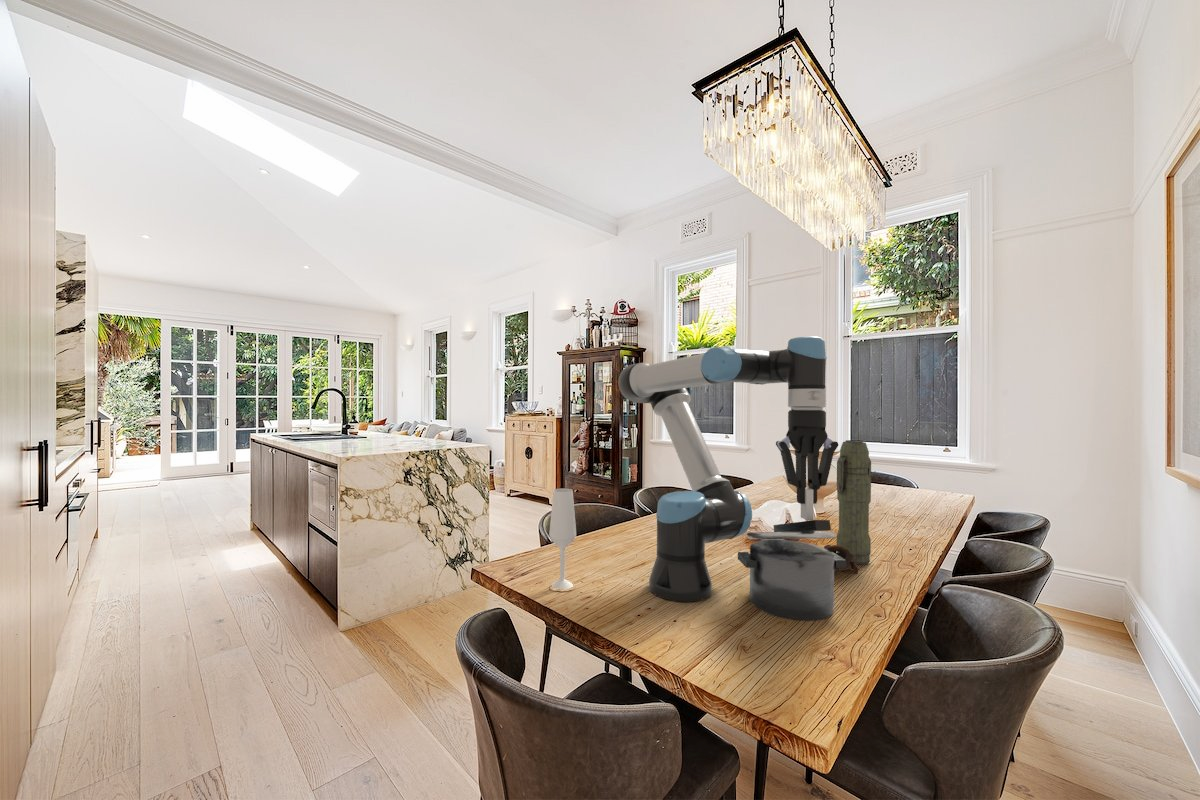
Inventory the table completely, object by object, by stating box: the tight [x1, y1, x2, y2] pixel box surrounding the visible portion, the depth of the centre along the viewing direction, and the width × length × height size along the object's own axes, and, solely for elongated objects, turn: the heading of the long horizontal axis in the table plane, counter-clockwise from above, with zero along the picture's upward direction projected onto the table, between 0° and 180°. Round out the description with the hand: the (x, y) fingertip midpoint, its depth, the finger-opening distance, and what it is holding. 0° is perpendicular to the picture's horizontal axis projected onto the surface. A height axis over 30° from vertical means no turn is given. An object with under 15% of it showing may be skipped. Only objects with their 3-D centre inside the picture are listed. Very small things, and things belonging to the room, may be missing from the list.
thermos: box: [836, 439, 872, 565], centre depth 142 cm, size 9×12×35 cm
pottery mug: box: [823, 544, 859, 574], centre depth 132 cm, size 12×10×8 cm
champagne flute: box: [548, 487, 577, 589], centre depth 119 cm, size 7×7×24 cm
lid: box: [746, 519, 836, 540], centre depth 109 cm, size 19×26×3 cm
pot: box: [737, 539, 846, 622], centre depth 113 cm, size 23×21×12 cm
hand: (807, 518), depth 104 cm, fingers closed
